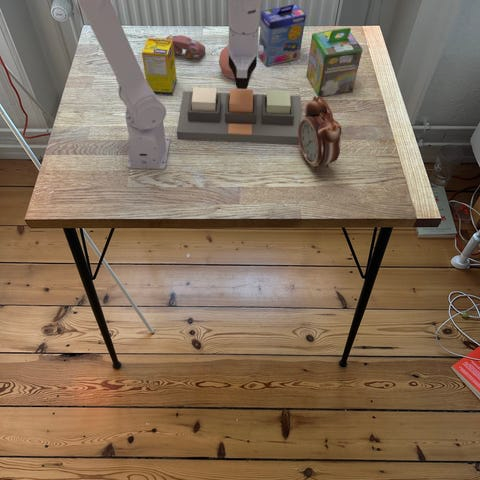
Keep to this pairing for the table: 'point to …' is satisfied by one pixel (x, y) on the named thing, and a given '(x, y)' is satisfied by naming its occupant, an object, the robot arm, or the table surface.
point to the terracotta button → (241, 100)
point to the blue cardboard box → (281, 34)
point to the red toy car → (186, 46)
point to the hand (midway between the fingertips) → (241, 86)
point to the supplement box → (159, 65)
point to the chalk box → (333, 61)
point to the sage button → (278, 102)
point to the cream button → (204, 99)
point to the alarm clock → (319, 134)
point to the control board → (239, 122)
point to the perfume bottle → (225, 63)
